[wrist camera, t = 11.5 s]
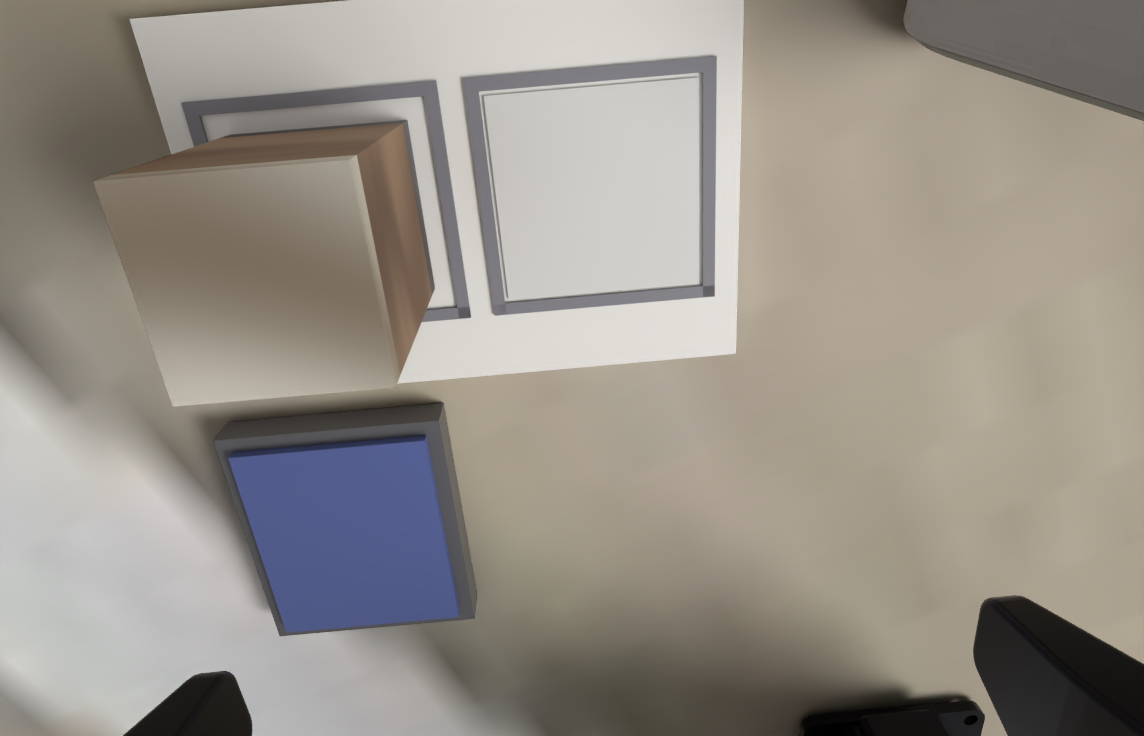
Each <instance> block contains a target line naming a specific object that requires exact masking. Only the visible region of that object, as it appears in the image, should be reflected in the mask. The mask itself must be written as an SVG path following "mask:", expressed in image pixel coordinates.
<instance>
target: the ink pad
mask: <svg viewBox="0 0 1144 736" xmlns="http://www.w3.org/2000/svg"><path fill="white" fill-rule="evenodd" d="M213 442H214V445H215V448H216V451H217V454H218V457H219V459H220V462H221V465H222V468H223V471H224V474H225V477H226V480H227V483H228V486H229V489H230V492H231V495H232V498H233V501H234V503H235V506H236V509H237V512H238V515H239V518H240V521H241V524H242V527H243V530H244V533H245V536H246V539H247V542H248V544H249V547H250V550H251V553H252V556H253V559H254V562H255V565H256V568H257V571H258V574H259V577H260V580H261V583H262V586H263V588H264V591H265V594H266V597H267V600H268V603H269V606H270V609H271V612H272V615H273V618H274V621H275V624H276V627H277V630H278V632H279V635H280V636H287V635H298V634H309V633H320V632H331V631H342V630H353V629H364V628H375V627H386V626H397V625H409V624H420V623H431V622H442V621H453V620H464V619H475V611H476V602H477V591H476V586H475V580H474V574H473V568H472V563H471V557H470V551H469V546H468V540H467V534H466V529H465V523H464V517H463V511H462V506H461V500H460V494H459V489H458V483H457V477H456V472H455V466H454V460H453V454H452V449H451V443H450V437H449V432H448V426H447V420H446V415H445V409H444V403H436V404H425V405H414V406H403V407H391V408H380V409H369V410H358V411H346V412H335V413H324V414H312V415H301V416H290V417H279V418H267V419H256V420H245V421H234V422H227V424H226V425H225V426H224V428H223V429H222V430H221V431H220V433H219V434H218V435H217V436H216V438H215V439H214V440H213Z"/></svg>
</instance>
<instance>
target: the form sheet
mask: <svg viewBox="0 0 1144 736" xmlns="http://www.w3.org/2000/svg"><path fill="white" fill-rule="evenodd" d="M743 19H744V0H346V1H334V2H322V3H311V4H299V5H287V6H276V7H264V8H252V9H240V10H229V11H217V12H205V13H194V14H182V15H170V16H159V17H147V18H135V19H130V22H131V26H132V29H133V32H134V35H135V39H136V42H137V45H138V48H139V52H140V55H141V58H142V61H143V64H144V68H145V71H146V74H147V77H148V81H149V84H150V87H151V90H152V94H153V97H154V100H155V103H156V107H157V110H158V113H159V116H160V120H161V123H162V126H163V129H164V133H165V136H166V139H167V142H168V146H169V149H170V152H171V154H174V153H177V152H180V151H183V150H186V149H189V148H192V147H195V146H198V145H201V144H204V143H207V142H210V141H213V140H216V139H219V138H221V137H224V136H227V135H231V134H243V133H255V132H267V131H279V130H291V129H304V128H316V127H328V126H340V125H352V124H364V123H376V122H388V121H400V120H408V126H409V132H410V138H411V145H412V151H413V157H414V163H415V169H416V175H417V181H418V187H419V193H420V199H421V205H422V212H423V218H424V224H425V230H426V236H427V242H428V248H429V254H430V260H431V266H432V272H433V278H434V285H435V290H434V292H433V295H432V297H431V300H430V302H429V305H428V307H427V310H426V312H425V315H424V317H423V320H422V322H421V325H420V327H419V330H418V332H417V335H416V337H415V340H414V342H413V345H412V347H411V350H410V352H409V355H408V357H407V360H406V362H405V365H404V368H403V370H402V373H401V375H400V378H399V380H398V383H397V384H399V383H410V382H421V381H433V380H444V379H455V378H466V377H478V376H489V375H500V374H512V373H523V372H534V371H545V370H557V369H568V368H579V367H590V366H602V365H613V364H624V363H636V362H647V361H658V360H669V359H681V358H692V357H703V356H715V355H726V354H736V326H737V282H738V238H739V194H740V150H741V107H742V63H743Z"/></svg>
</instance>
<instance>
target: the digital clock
mask: <svg viewBox="0 0 1144 736" xmlns="http://www.w3.org/2000/svg"><path fill="white" fill-rule="evenodd" d="M903 21H904V25H905V30H906V31H907V32H908V33H909V34H910V35H911V36H912V37H913V38H914V39H915V40H916V41H918V42H919V43H920V44H922V45H923V46H925V47H926V48H928V49H929V50H931V51H934V52H936V53H939V54H941V55H944V56H946V57H949V58H951V59H954V60H957V61H960V62H963V63H966V64H969V65H972V66H975V67H978V68H981V69H985V70H988V71H991V72H994V73H997V74H1000V75H1003V76H1006V77H1009V78H1012V79H1015V80H1019V81H1022V82H1025V83H1028V84H1031V85H1034V86H1037V87H1040V88H1043V89H1046V90H1049V91H1053V92H1056V93H1059V94H1062V95H1065V96H1068V97H1071V98H1074V99H1077V100H1080V101H1083V102H1087V103H1090V104H1093V105H1096V106H1099V107H1102V108H1105V109H1108V110H1111V111H1114V112H1117V113H1121V114H1124V115H1127V116H1130V117H1133V118H1136V119H1139V120H1142V121H1144V0H908V1H907V5H906V9H905V13H904V18H903Z"/></svg>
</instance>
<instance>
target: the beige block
mask: <svg viewBox="0 0 1144 736" xmlns="http://www.w3.org/2000/svg"><path fill="white" fill-rule="evenodd" d="M93 183H94V186H95V189H96V192H97V195H98V197H99V200H100V203H101V206H102V209H103V212H104V214H105V217H106V220H107V223H108V226H109V228H110V231H111V234H112V237H113V240H114V242H115V245H116V248H117V251H118V254H119V256H120V259H121V262H122V265H123V268H124V270H125V273H126V276H127V279H128V282H129V285H130V287H131V290H132V293H133V296H134V299H135V301H136V304H137V307H138V310H139V313H140V315H141V318H142V321H143V324H144V327H145V329H146V332H147V335H148V338H149V341H150V343H151V346H152V349H153V352H154V355H155V357H156V360H157V363H158V366H159V369H160V372H161V374H162V377H163V380H164V383H165V386H166V388H167V391H168V394H169V397H170V400H171V402H172V405H173V407H176V406H188V405H199V404H211V403H223V402H235V401H246V400H258V399H270V398H281V397H293V396H305V395H316V394H328V393H340V392H351V391H363V390H375V389H387V388H396V385H397V383H398V380H399V378H400V375H401V373H402V370H403V368H404V365H405V362H406V360H407V357H408V355H409V352H410V350H411V347H412V345H413V342H414V340H415V337H416V335H417V332H418V330H419V327H420V325H421V322H422V320H423V317H424V315H425V312H426V310H427V307H428V305H429V302H430V300H431V297H432V295H433V292H434V290H435V285H434V278H433V272H432V266H431V260H430V254H429V248H428V242H427V236H426V230H425V224H424V218H423V212H422V205H421V199H420V193H419V187H418V181H417V175H416V169H415V163H414V157H413V151H412V145H411V138H410V132H409V126H408V120H400V121H388V122H376V123H364V124H352V125H340V126H328V127H316V128H304V129H291V130H279V131H267V132H255V133H243V134H231V135H227V136H224V137H221V138H219V139H216V140H213V141H210V142H207V143H204V144H201V145H198V146H195V147H192V148H189V149H186V150H183V151H180V152H177V153H174V154H171V155H168V156H166V157H163V158H160V159H157V160H154V161H151V162H148V163H145V164H142V165H139V166H136V167H133V168H130V169H127V170H124V171H121V172H118V173H115V174H113V175H110V176H107V177H104V178H101V179H98V180H95V181H93Z"/></svg>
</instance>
